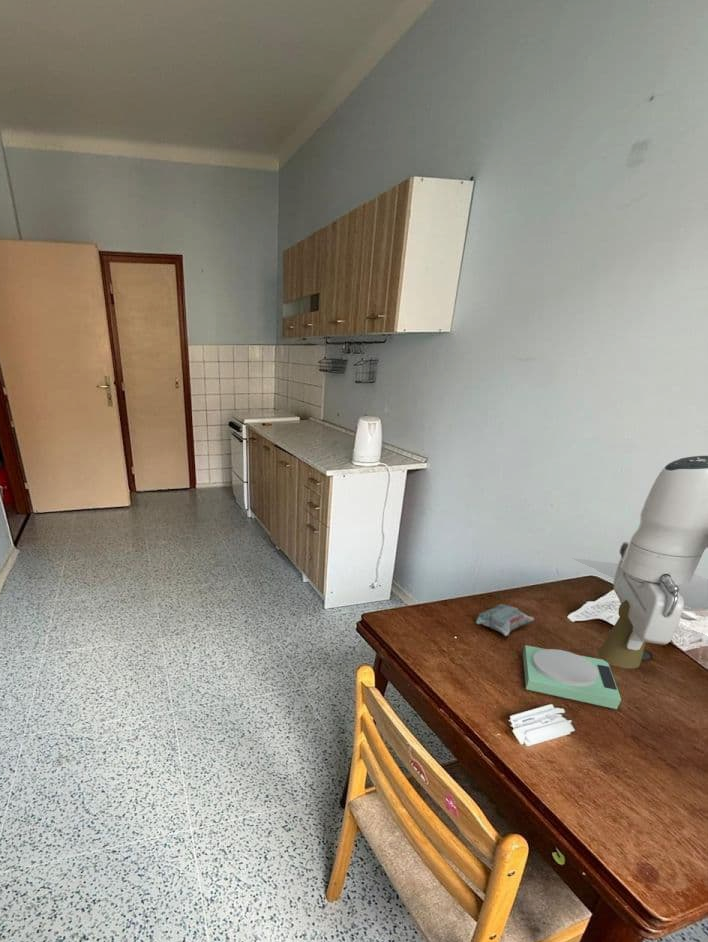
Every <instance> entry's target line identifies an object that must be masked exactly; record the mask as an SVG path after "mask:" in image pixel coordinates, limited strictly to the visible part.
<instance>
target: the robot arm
mask: <svg viewBox="0 0 708 942" xmlns="http://www.w3.org/2000/svg"><path fill="white" fill-rule="evenodd" d="M639 519H640V520H639V525H638V527H637V529H636V531H634V533H633V534H632V536H631V538H630V541H623V542H622V543H621V545H620V548H619V555H620V558H619V562H618V564H617V567H616V571H615V575H614V578H613V591H614V592H615V594H616V596H617V598H618V600H619V602H620V605H621V604H622V603H623V602H624V601H626V600H627V601H628V602H629V606H630V608H629V613H628V618H629V620H630V622H631V624H632V626H633V629H632V630H633V632H632V634H631V635H628V636H627V639H626V641H625V644H626V646H627V648H628V649H632V650H639V649H640V648H641V646H642V643H643V642H646V643H649V644H656V645H657V644H658V645H663V646H664V645H665V646H666V645H668V644H669V643H670V642H671V641H672V640H673V638H674V637H675V633H676V631H677V629H678V625H679V623H680V620H681V619H682V618H681V617H682V614H683V611H684V605H685V600H684V598H683V596H682V594H681V593H680V587H679V586H682V585H687V584H689V583H690V582H691V581H692V578H693V576H694V574H695V572H696V570H697V567H698V566H699V563H700V561H701V559H702V557H703V556H704V555H703V554H704V553H705V550H706V549H708V455H693V456H687V457H682V458H679V459H676V460H673V461H671V462H669V463H667V464H666V465H665V466H664V467H663V468H662V469H661V471H660V472H659V474H658V475H657V477H656V479H655V480H654V483H653V484H652V486H651V488H650V490H649V491H648V494H647V496H646V499H645V501H644V503H643V506H642V509H641V511H640V518H639Z"/></svg>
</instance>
